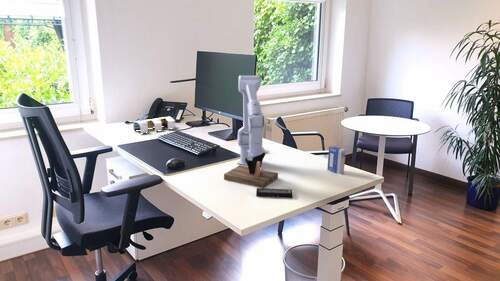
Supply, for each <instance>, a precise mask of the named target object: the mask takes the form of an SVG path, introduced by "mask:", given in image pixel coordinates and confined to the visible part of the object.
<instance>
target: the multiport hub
mask: <svg viewBox="0 0 500 281" xmlns="http://www.w3.org/2000/svg"><path fill="white" fill-rule="evenodd" d="M255 192H256V193H255V194H256V195H255V196H256V197H257V198H258V197H260V198H281V199H285V198H286V199H292V198H293V189H290V188H289V189H288V188H266V187H265V188H261V187H256V191H255Z"/></svg>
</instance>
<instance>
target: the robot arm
mask: <svg viewBox="0 0 500 281" xmlns="http://www.w3.org/2000/svg"><path fill="white" fill-rule="evenodd" d="M237 78H238V80H237V81H238V82H237V83H238V92H239V93H241V94H242V101H243V102H242V106H243V107H242V110H243V114H242V115H243V118H242V119H243V120H242V122H243V126H241V128H239V129H238V130H237V138H236V140H237V145H238V146H239V147H240V149H239V150H240V158H239V159H240V160H239V161H237V162H236V164H238V165H241V166H246V167H248V169H249V173H250V174H253V175H254V174H255V170H256V165H257V162H260V169H261V168H262V164H263V160H264V158H265V157H266V152H264V147H263V132H264V130H263V129H264V127H265V115H264V114H263V112H262V108H261V102H259V100H258V97H257V96H258V94H257V93H258V91H259V89H260V87H261V76H260V75H241V74H239V76H238V77H237Z"/></svg>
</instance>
